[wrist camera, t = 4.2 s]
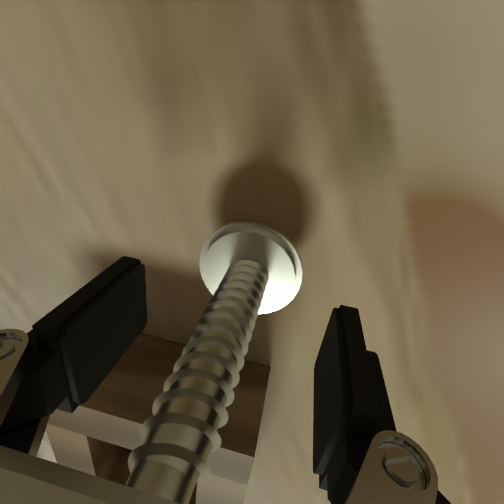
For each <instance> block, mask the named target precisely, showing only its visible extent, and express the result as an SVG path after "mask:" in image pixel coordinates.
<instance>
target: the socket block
mask: <svg viewBox="0 0 504 504" xmlns="http://www.w3.org/2000/svg"><path fill="white" fill-rule="evenodd" d="M184 347H185V345H183V344H179V343H175V342H171V341H167V340H163V339H159V338H156V337H152V336H148V335H144V334H139V336H138V337H137V338H136V339H135V341H134V342H133V343H132V344H131V346H130V347H129V348H128V350H127V351H126V352H125V353H124V355H123V356H122V357H121V358H120V360H119V361H118V362H117V364H116V365H115V366H114V367H113V369H112V370H111V371H110V373H109V374H108V375H107V376H106V378H105V379H104V380H103V381H102V383H101V384H100V385H99V387H98V388H97V389H96V390H95V392H94V393H93V394H92V395H91V397H90V398H89V399H88V400H87V402H85V403H84V404H80V405H79V406H78V407H77V408H76V410H75V411H74V412H73V413H68V412H65V411H62V410H58V409H56V410H55V411H54V412H53V413H52V414H51V415H50V417H49V420H48V423H47V426H46V432H47V434H48V437H49V440H50V443H51V446H52V449H53V452H54V455H55V458H56V461H57V463H58V464H60V465H63V466H66V467H69V468H73V469H76V470H79V471H82V472H85V473H88V474H91V475H94V476H97V477H100V478H103V479H106V480H109V481H112V482H116V483H119V484H122V485H126V482H127V480H128V478H129V476H130V474H131V473H130V470H129V467H128V458H129V455H130V453H131V452H132V451H133V450H134V449H135V448H137V447H139V446H141V445H143V443H142V441H141V436H140V430H141V426H142V425H143V423H144V422H145V421H146V419H148V418H149V417H151V416H153V413H152V407H153V403H154V401H155V399H156V398H157V397H158V396H159V395H160V394H162V393H163V388H164V383H165V381H166V379H167V378H168V377H169V376H170V375H171V374H172V373H173V368H174V365H175V363H176V361H177V360H178V359H179V358H180V357H181V356H182V351H183V349H184ZM269 372H270V367H268V366H265V365H261V364H257V363H253V362H249V361H245V360H244V366H243V368H242V369H241V370H240V371H239V376H240V379H239V383H238V384H237V386H236V387H234V388H232V389H233V392H234V400H233V402H232V404H230V405H229V406H227V407H225V409H226V411H227V413H228V422H227V423H226V424H225V425H224V426H222V427H220V428H218V430H217V432H218V434H219V435H220V438H221V446H220V447H219V448H218V449H217V450H215V451H212V452H210V453H209V455H208V458H207V460H206V462H207V464H208V465H209V467H210V474H209V475H208V476H207V477H204V478H199V479H198V481H197V483H196V485H195V488H194V490H193V492H192V495H191V499H190V502H189V504H243V501H244V497H245V493H246V489H247V485H248V481H249V476H250V472H251V468H252V464H253V460H254V455H255V450H256V444H257V439H258V433H259V428H260V422H261V417H262V411H263V406H264V400H265V394H266V389H267V383H268V378H269Z"/></svg>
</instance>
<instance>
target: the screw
mask: <svg viewBox="0 0 504 504" xmlns="http://www.w3.org/2000/svg"><path fill="white" fill-rule="evenodd" d="M200 272H201V276H202V279H203V281H204V283H205V285H206V287H207V288H208V290H209V291H210V292H211V294H212V295H213V297H212V299H211V300H210V302H209V305H208V307H207V308H206V309H205V311H204V313H203V317H202V318H201V319H200V320H199V322H198V324H197V327H196V329H195V330H194V331H193V333H192V334H191V336H190V340H189V342H188V343H187V344H186V345H185V347H184V349H183V351H182V356H181V357H180V358H179V359H178V360H177V361H176V363H175V365H174V368H173V373H172V374H171V375H170V376H169V377H168V378H167V379H166V381H165V383H164V388H163V393H162V394H160V395H159V396H158V397H157V398H156V399H155V401H154V403H153V407H152V413H153V416H151V417H149V418H148V419H146V421H145V422H144V423H143V425H142V426H141V430H140V436H141V441H142V443H143V445H141V446H139V447H137V448H135V449H134V450H133V451H132V452H131V453H130V455H129V458H128V467H129V470H130V473H131V474H130V476H129V478H128V480H127V482H126V485H125V486H128V487H131V488H134V489H137V490H140V491H143V492H146V493H149V494H152V495H155V496H158V497H161V498H165V499H168V500H171V501H174V502H177V503H180V504H189V502H190V499H191V495H192V492H193V490H194V488H195V485H196V483H197V481H198V479H199V478H204V477H207V476H208V475H209V474H210V467H209V465H208V464H207V462H206V460H207V458H208V455H209V453H210V452H212V451H215V450H217V449H218V448H219V447H220V446H221V438H220V435H219V434H218V432H217V430H218V428H220V427H222V426H224V425H225V424H226V423H227V422H228V413H227V411H226V409H225V407H227V406H229V405H230V404H232V402H233V400H234V392H233V389H232V388H234V387H236V386H237V384H238V383H239V379H240V376H239V371H240V370H241V369H242V368H243V366H244V356H245V355H246V354H247V352H248V343H249V342H250V340H251V338H252V331H253V329H254V327H255V320H256V319H257V317H258V314H266V313H270V312H274V311H277V310H279V309H281V308H283V307H284V306H286V305H287V304H288V303H289V302H290V301H292V300H293V299H294V297H295V296H296V294H297V293H298V291H299V288H300V285H301V282H302V272H303V267H302V261H301V257H300V255H299V253H298V250H297V248H296V247H295V245H294V244H293V243H292V241H291V240H290V239H289V238H288V237H287V236H286V235H285V234H284V233H282V232H281V231H280V230H278V229H276V228H274V227H273V226H271V225H268V224H265V223H262V222H259V221H251V220H242V221H234V222H231V223H228V224H225V225H223V226H222V227H220V228H219V229H217V230H216V231H215V232H214V233H213V234H212V235H211V236H210V237H209V238H208V239H207V241H206V242H205V244H204V246H203V248H202V251H201V254H200Z"/></svg>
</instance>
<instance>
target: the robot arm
mask: <svg viewBox="0 0 504 504" xmlns="http://www.w3.org/2000/svg"><path fill="white" fill-rule="evenodd" d="M146 323H147V303H146V284H145V267H144V265H143V264H141V261H140V260H139V259H135V258H131V257H126V256H123V257H121V258H120V259H119V260H117V261H116V262H115V263H114V264H112V265H111V266H110V267H108V268H107V269H106V270H104V271H103V272H102V273H100V274H99V275H98V276H96V277H95V278H94V279H93V280H91V281H90V282H89V283H87V284H86V285H85V286H83V287H82V288H81V289H79V290H78V291H77V292H76V293H74V294H73V295H72V296H70V297H69V298H68V299H66V300H65V301H64V302H62V303H61V304H60V305H59V306H57V307H56V308H55V309H53V310H52V311H51V312H49V313H48V314H47V315H45V316H44V317H43V318H42V319H40V320H39V321H38V322H36V323H35V324H34V325H32V327H33V329H32V330H31V331H30V332H28V333H27V334H26V333H25V332H24V331H22V330H18V329H3V330H0V504H180V503H177V502H174V501H171V500H168V499H165V498H161V497H158V496H155V495H152V494H149V493H146V492H143V491H140V490H137V489H134V488H131V487H128V486H125V485H122V484H119V483H116V482H112V481H109V480H106V479H103V478H100V477H97V476H94V475H91V474H88V473H85V472H82V471H79V470H76V469H73V468H69V467H66V466H63V465H60V464H57V463H54V462H51V461H48V460H44V459H41V458H38V457H36V456H37V453H38V450H39V447H40V444H41V441H42V438H43V435H44V432H45V429H46V426H47V423H48V420H49V417H50V415H51V414H52V413H53V412H54V411H55V410H56V409H58V410H62V411H65V412H68V413H73V412H74V411H75V410H76V408H77V407H78V406H79V405H80V404H84V403H85V402H87V400H88V399H89V398H90V397H91V395H92V394H93V393H94V392H95V390H96V389H97V388H98V387H99V385H100V384H101V383H102V381H103V380H104V379H105V378H106V376H107V375H108V374H109V373H110V371H111V370H112V369H113V367H114V366H115V365H116V364H117V362H118V361H119V360H120V358H121V357H122V356H123V355H124V353H125V352H126V351H127V350H128V348H129V347H130V346H131V344H132V343H133V342H134V341H135V339H136V338H137V337H138V336H139V334H140V333H141V332H142V330H143V329H144V328H145V326H146ZM313 472H314V473H315V474H319V488H321V489H324V490H327V491H328V500H329V501H330V502H331V504H451V503H450V502H449V501H448V500H447V499H446V498H445V497H444V496H443V495H442V494H441V493H440V492H439V491H438V476H437V473H436V470H435V467H434V465H433V463H432V461H431V460H430V458H429V456H428V455H427V453H426V452H425V451H424V450H423V449H422V448H421V447H420V445H418V444H417V443H416V442H415V441H413V440H412V439H411V438H409V437H408V436H406V435H404V434H402V433H400V432H397V431H396V427H395V423H394V419H393V415H392V411H391V407H390V403H389V399H388V395H387V391H386V386H385V382H384V378H383V374H382V370H381V366H380V362H379V358H378V355H377V354H376V353H375V352H371V351H367V350H366V345H365V341H364V336H363V331H362V326H361V321H360V316H359V311H358V309H357V308H353V307H348V306H344V305H340V307H339V309H338V308H334V309H333V311H332V314H331V317H330V320H329V323H328V326H327V329H326V332H325V335H324V338H323V341H322V344H321V347H320V350H319V353H318V356H317V359H316V362H315V368H314V421H313Z"/></svg>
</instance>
